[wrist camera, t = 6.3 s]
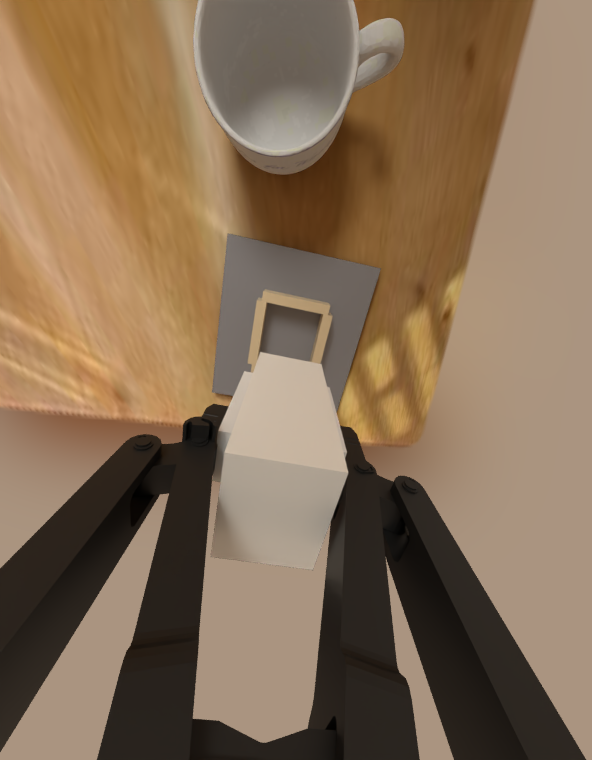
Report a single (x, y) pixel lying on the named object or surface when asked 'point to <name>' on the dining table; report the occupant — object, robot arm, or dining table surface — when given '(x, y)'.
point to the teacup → (287, 73)
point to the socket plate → (289, 311)
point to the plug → (280, 468)
